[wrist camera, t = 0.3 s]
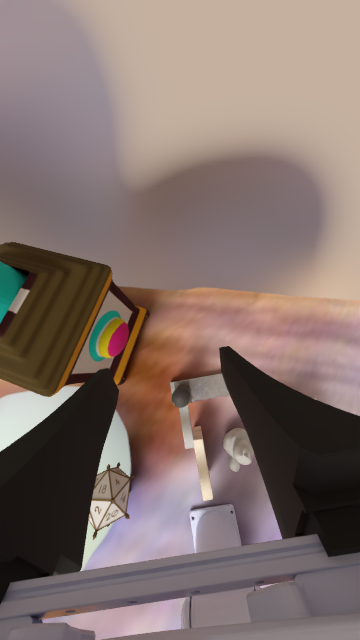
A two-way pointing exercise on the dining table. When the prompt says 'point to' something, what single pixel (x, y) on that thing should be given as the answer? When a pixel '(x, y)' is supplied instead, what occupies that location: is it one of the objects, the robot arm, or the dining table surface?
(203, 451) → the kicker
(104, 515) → the game die
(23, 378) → the decorative lantern
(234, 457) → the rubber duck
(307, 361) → the dining table surface
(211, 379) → the rail
